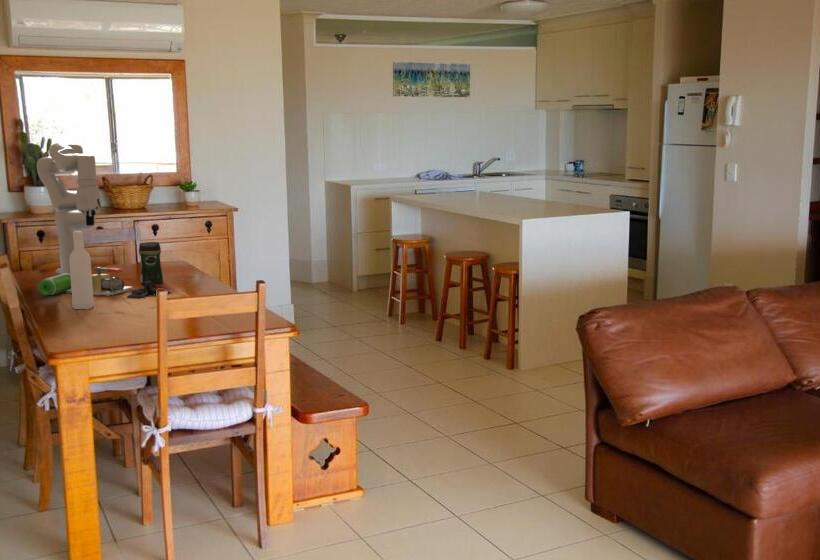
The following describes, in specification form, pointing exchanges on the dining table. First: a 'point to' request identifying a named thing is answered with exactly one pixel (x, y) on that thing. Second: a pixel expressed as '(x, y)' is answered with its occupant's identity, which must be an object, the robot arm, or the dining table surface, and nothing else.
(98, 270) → the lever
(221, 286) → the dining table surface
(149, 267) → the coffee jar
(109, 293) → the valve pipe
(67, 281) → the speaker
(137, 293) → the cloth
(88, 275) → the bottle
